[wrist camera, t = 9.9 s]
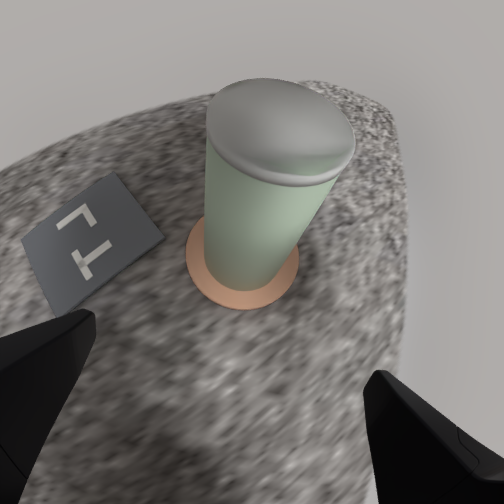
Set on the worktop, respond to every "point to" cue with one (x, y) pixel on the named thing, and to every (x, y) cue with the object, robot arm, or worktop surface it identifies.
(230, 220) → the green tumbler
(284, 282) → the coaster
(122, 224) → the tile
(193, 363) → the worktop surface
